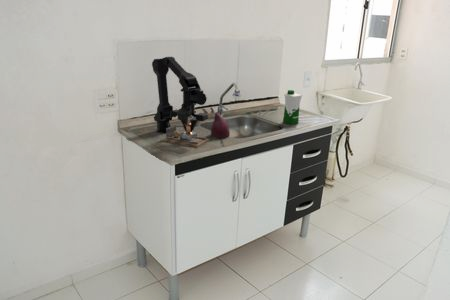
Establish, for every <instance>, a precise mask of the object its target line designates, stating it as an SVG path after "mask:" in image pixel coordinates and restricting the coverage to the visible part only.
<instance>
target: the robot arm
mask: <svg viewBox="0 0 450 300" xmlns="http://www.w3.org/2000/svg"><path fill="white" fill-rule="evenodd" d="M151 66H152V70H153V73H154V74H155V76H156V81H157V91H158V100H159V102H158V105H157V107H156V114H155V115H154V116H153V119H154V122H156V127H157V128H156V130H155V132H156V133H161V134H166V128H169V127H171V123H170V121H172V120H173V118H176V117H177V120H179V121H180V122H181V124H182V127H183V129H184V131H186V124H187V123H188V122H189V121H190V122H189V123H191V132H194V130H195V127H196V125H197V123H198V122H205V121H206V120H208V119H209V116H208V114H207V113H204V112H199V113H197V112H196V111H197V110H195V109H196V107H195V106H196V105H199V106H203V105H205V104H206V102H207V100H208V99H207V98H208V97H207V95H206V94H205V93H204V90H202V89H201V86H200V84H199V81H198V80H197V76H196V75H194V74H193V73H191V72H187V70H185V69H184V68H183V67H182V65H181V64H180V63H178V62H177V60H176V58H175V57H174V56H165V57H162V58H154V59H153V60H152V62H151ZM169 70H170V71H171V72H172V73H173V74H174V75H175V76H176V77H177V78H178V83H179V84H180V86H181V87H182V88H181V89H180V92H182V100H183V101H182V104H181V107H180V108H179V109H177V108H176V109H174V107H173V105H171V104H170V102H169V91H168V82H167V81H168V80H167V75H168V73H169ZM189 118H191V119H190V120H189Z"/></svg>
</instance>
